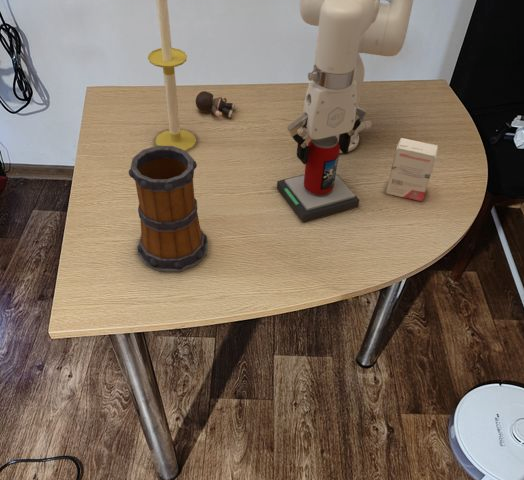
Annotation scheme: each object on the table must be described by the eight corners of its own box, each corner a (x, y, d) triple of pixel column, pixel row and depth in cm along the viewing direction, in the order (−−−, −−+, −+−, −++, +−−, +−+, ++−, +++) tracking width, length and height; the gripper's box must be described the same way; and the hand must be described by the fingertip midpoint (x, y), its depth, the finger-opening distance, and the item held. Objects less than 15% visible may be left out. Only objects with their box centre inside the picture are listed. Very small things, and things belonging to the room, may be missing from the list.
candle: (162, 127, 140) (142, -46, 110) (200, 133, 139) (190, -41, 109) (150, 149, 134) (124, -28, 104) (189, 155, 133) (175, -22, 103)
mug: (129, 216, 119) (112, 130, 103) (195, 206, 122) (189, 121, 106) (143, 278, 108) (126, 193, 92) (215, 266, 110) (211, 181, 95)
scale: (329, 174, 130) (331, 165, 128) (358, 207, 123) (360, 197, 121) (276, 188, 126) (277, 178, 124) (302, 222, 119) (303, 213, 117)
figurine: (234, 110, 149) (197, 99, 148) (237, 93, 145) (200, 81, 144) (228, 127, 144) (191, 116, 143) (232, 110, 140) (193, 98, 139)
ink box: (425, 190, 128) (440, 144, 119) (422, 202, 125) (437, 156, 116) (388, 181, 129) (400, 135, 120) (384, 194, 127) (396, 147, 117)
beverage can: (331, 199, 120) (339, 150, 111) (300, 194, 121) (306, 145, 112) (335, 181, 125) (343, 132, 115) (305, 176, 125) (311, 128, 116)
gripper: (301, 92, 98) (294, 174, 112) (383, 75, 103) (366, 156, 117) (283, 73, 102) (278, 154, 116) (362, 57, 107) (349, 137, 121)
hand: (322, 155), depth 116 cm, fingers open, 9 cm apart
